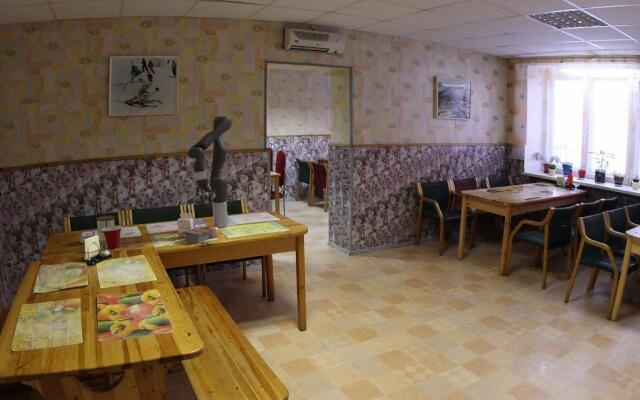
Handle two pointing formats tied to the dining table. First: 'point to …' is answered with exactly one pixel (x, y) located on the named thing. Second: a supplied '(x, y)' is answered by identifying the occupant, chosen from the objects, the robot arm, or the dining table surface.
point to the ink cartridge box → (184, 223)
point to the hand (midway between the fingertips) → (206, 202)
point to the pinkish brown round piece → (213, 232)
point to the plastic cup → (112, 236)
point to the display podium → (196, 235)
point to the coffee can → (104, 225)
